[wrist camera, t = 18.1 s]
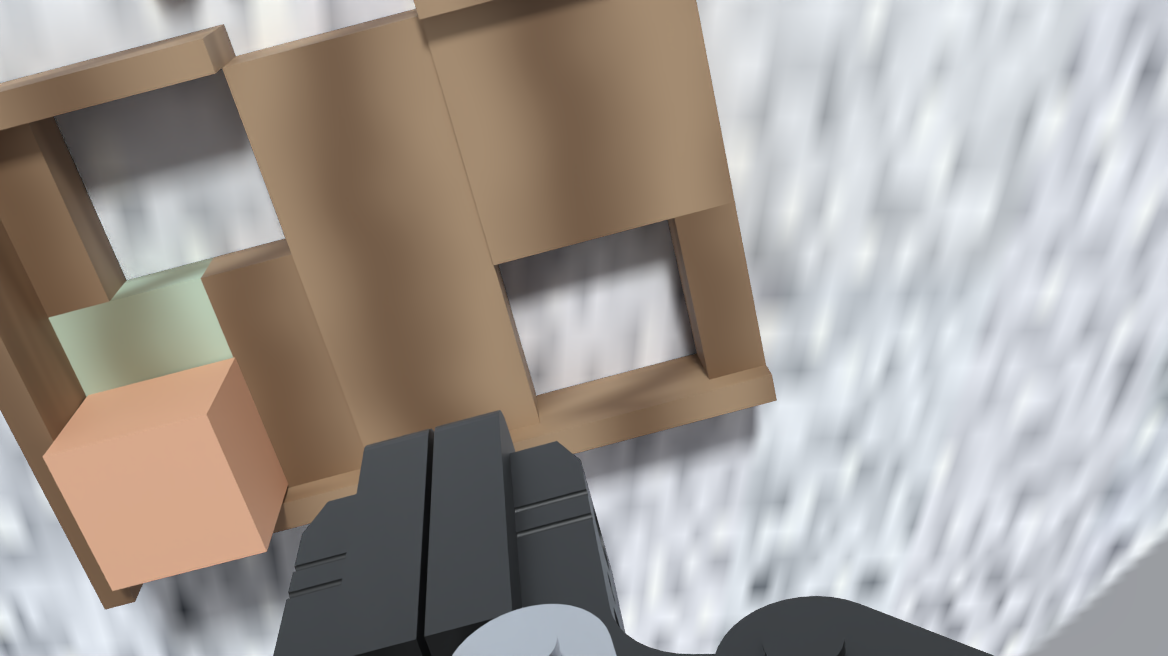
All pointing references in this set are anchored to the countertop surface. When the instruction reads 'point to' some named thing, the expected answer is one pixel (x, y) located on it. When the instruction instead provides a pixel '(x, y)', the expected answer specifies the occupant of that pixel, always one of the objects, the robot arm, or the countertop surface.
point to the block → (170, 474)
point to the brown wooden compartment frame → (387, 235)
